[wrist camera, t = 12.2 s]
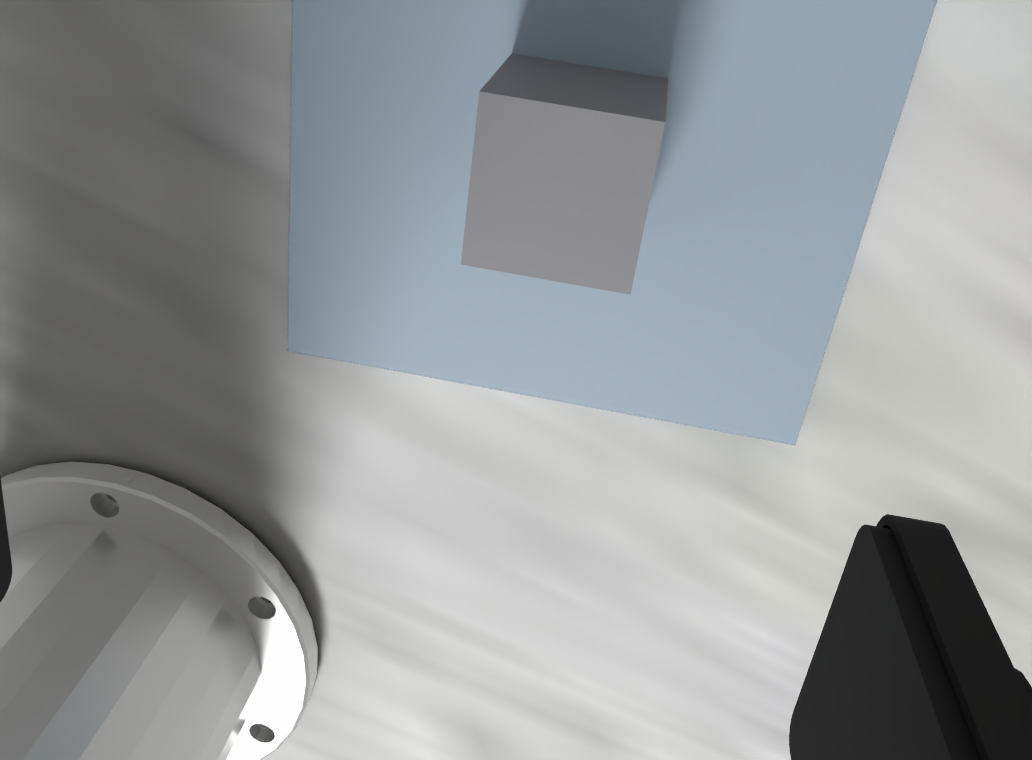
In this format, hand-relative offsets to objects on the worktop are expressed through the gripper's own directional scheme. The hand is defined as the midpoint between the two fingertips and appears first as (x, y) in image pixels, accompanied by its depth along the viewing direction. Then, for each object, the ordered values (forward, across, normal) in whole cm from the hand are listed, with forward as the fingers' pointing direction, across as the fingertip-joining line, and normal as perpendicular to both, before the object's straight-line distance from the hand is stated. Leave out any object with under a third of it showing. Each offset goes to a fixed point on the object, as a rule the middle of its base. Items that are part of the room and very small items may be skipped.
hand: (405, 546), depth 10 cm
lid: (+15, -1, -1) cm, 15 cm away
